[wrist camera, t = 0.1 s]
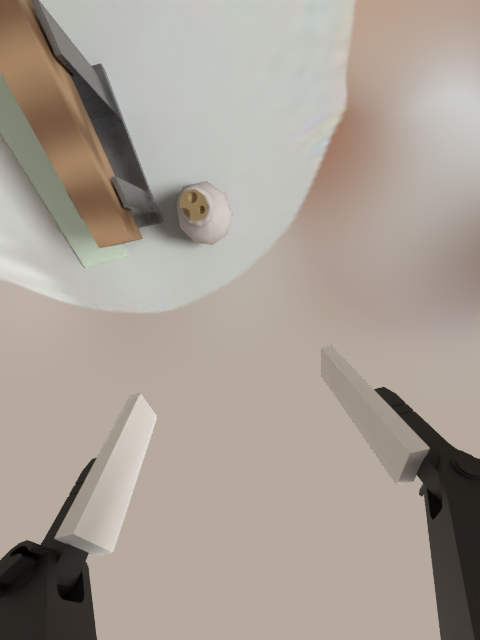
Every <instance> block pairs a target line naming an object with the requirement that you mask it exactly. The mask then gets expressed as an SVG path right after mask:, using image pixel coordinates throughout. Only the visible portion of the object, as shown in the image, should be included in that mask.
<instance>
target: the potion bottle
mask: <svg viewBox="0 0 480 640" xmlns="http://www.w3.org/2000/svg"><path fill="white" fill-rule="evenodd" d="M176 207H177V214H178V220H179V226H180V228H181V229H182V230H183V231H184V232H185V233H186V234H187V235H188V236H189V237H190V238H191V239H192V241H193V242H197V243H204V244H210V245H212V244H214V243H215V242H217V241H218V240H220V239H221V238H223V237H224V236H225V235H227V232H228V229H229V225H230V222H231V218H232V212H231V209H230V207H229V204H228V201H227V198H226V195H225V193H223V192H222V191H220V190H219V189H217V188H216V187H214V186H213V185H211V184H210V183H208V182H207V181H206V182H201V183H197V184H192V185H188V186H186V187H183V189H182V191H181V193H180V195H179V196H178V198H177V204H176Z"/></svg>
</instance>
